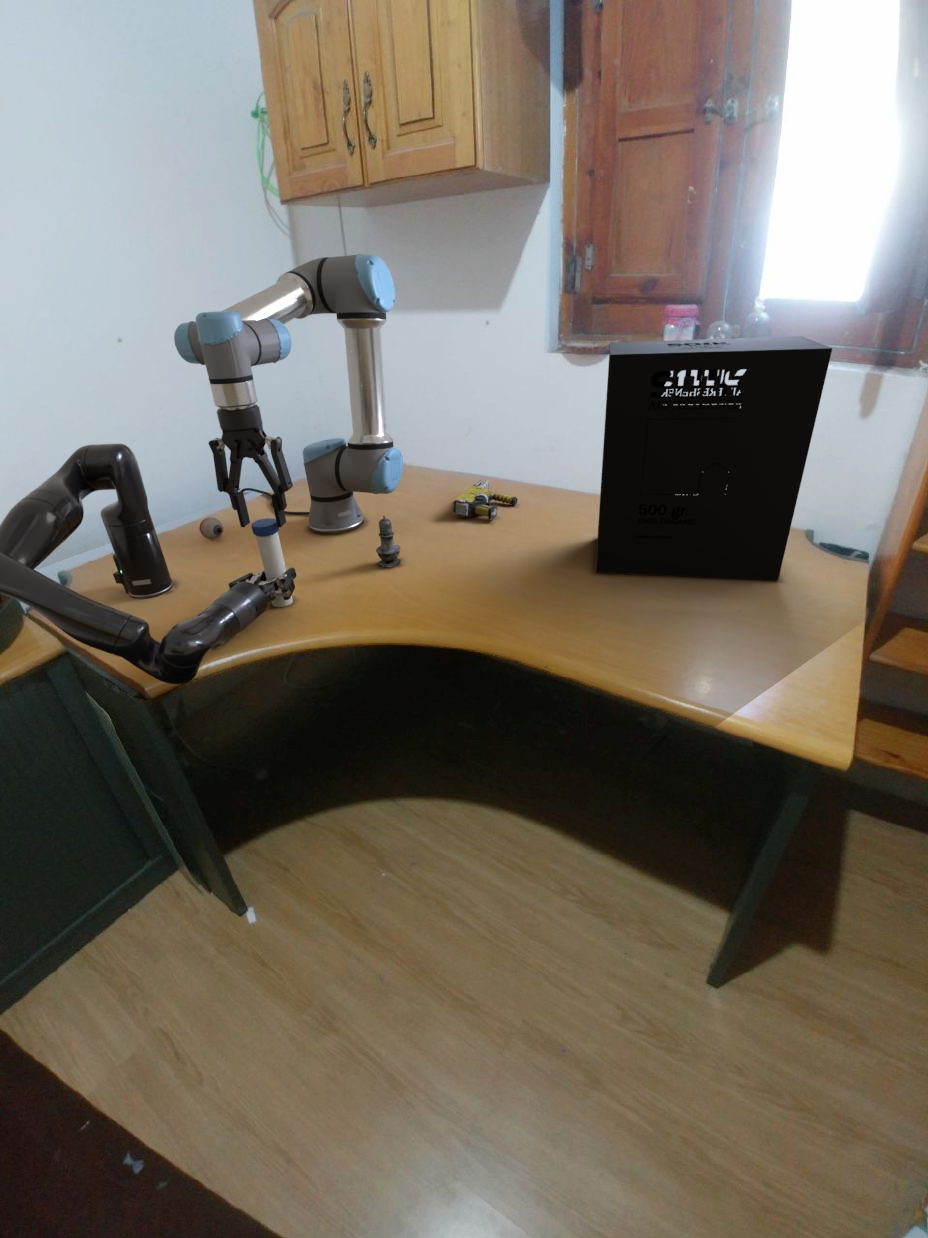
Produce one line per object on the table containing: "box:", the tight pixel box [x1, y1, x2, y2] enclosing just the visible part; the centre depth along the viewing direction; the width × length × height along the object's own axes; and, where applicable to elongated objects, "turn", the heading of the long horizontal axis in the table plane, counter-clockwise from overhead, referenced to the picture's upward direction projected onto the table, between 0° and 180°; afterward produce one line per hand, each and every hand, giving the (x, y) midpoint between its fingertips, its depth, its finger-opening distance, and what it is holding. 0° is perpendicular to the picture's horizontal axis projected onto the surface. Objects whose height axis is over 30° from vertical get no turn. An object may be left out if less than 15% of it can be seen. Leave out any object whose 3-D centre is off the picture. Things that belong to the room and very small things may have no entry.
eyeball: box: [198, 516, 224, 541], centre depth 163 cm, size 6×6×6 cm
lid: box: [251, 517, 280, 537], centre depth 122 cm, size 5×5×2 cm
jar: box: [255, 531, 294, 608], centre depth 126 cm, size 4×4×18 cm
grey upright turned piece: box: [375, 515, 402, 568], centre depth 142 cm, size 6×6×12 cm
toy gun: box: [452, 479, 518, 521], centre depth 175 cm, size 5×24×15 cm
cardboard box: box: [595, 335, 833, 581], centre depth 128 cm, size 38×20×45 cm, turn 78°
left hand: (283, 570), depth 130 cm, fingers closed on jar, 4 cm apart
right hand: (263, 524), depth 121 cm, fingers open, 7 cm apart
